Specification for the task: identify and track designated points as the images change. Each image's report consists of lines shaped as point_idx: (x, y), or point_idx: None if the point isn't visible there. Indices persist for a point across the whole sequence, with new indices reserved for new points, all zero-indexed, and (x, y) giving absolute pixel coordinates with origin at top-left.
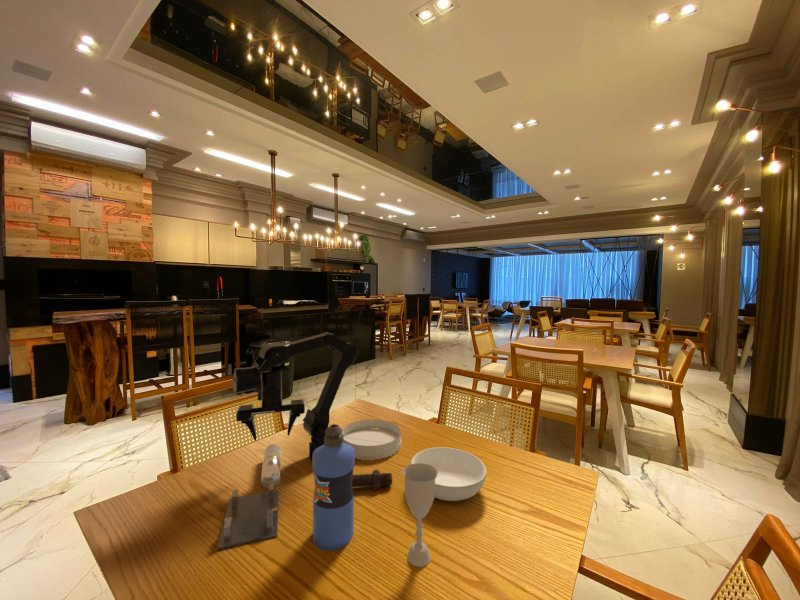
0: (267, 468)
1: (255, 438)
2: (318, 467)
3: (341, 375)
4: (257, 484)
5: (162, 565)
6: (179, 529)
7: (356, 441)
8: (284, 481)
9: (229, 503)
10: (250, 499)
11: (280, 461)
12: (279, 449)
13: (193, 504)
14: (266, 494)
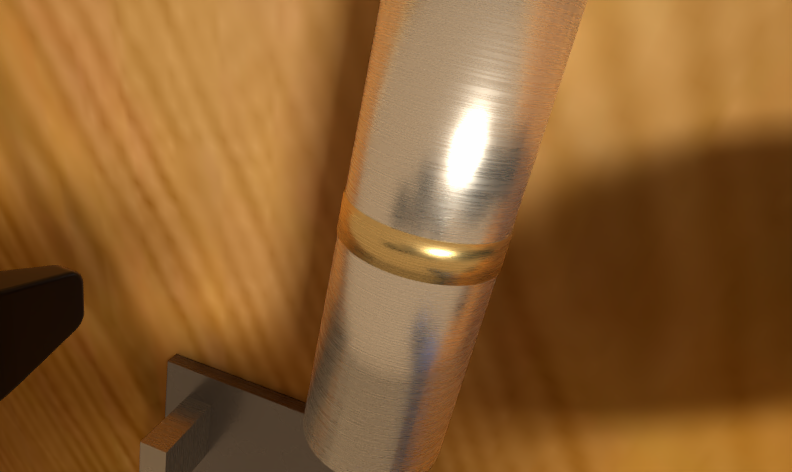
0: (333, 429)
1: (40, 356)
2: None
3: None
4: (323, 293)
5: None
6: (22, 407)
7: None
8: (495, 374)
9: (171, 400)
10: (267, 437)
11: (509, 243)
12: (569, 13)
13: (22, 267)
14: None
